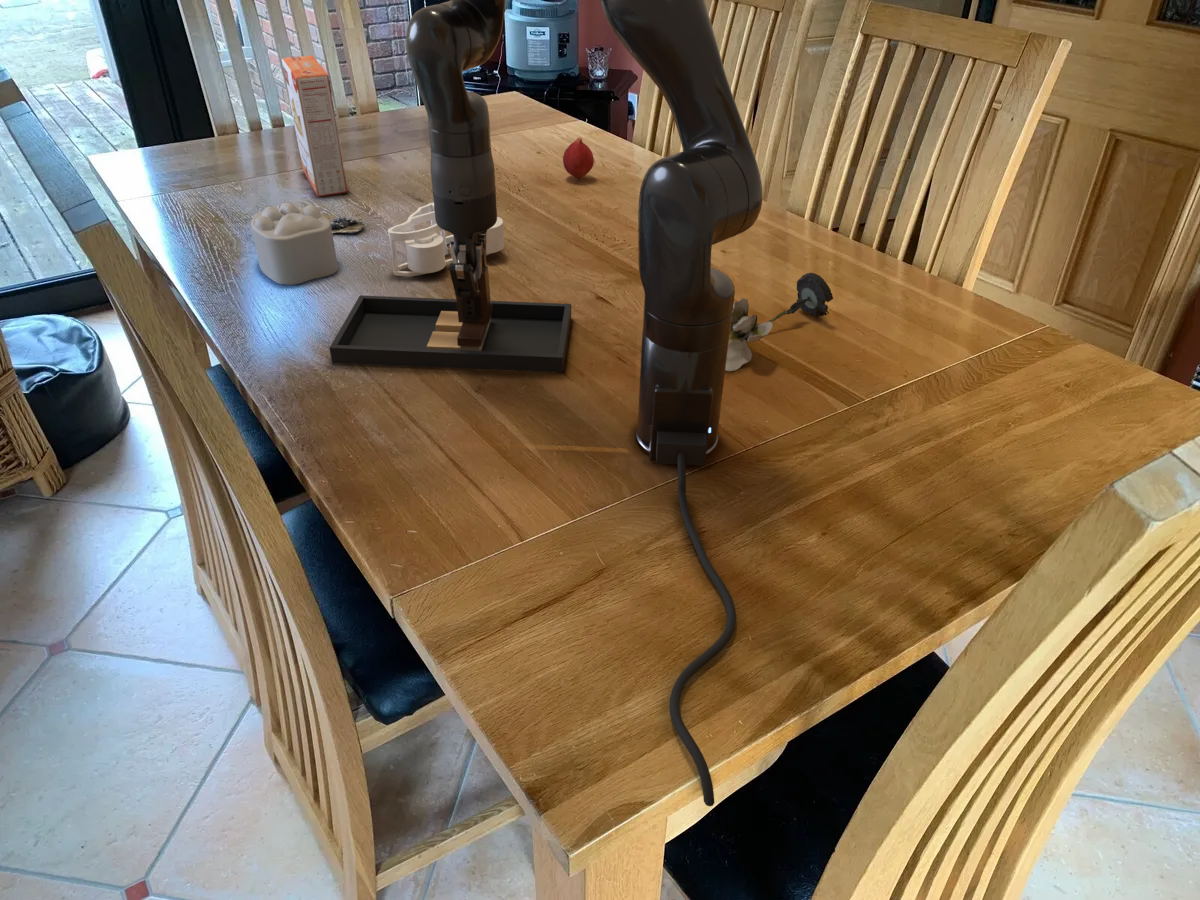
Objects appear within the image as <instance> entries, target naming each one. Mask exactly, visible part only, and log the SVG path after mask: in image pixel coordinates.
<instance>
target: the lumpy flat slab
mask: <svg viewBox="0 0 1200 900" xmlns="http://www.w3.org/2000/svg"><path fill="white" fill-rule="evenodd" d="M330 224H331V229H332V234H336V233H347V234H355V233H358V232H359V231H362V230H363V227H366V224H365V223H364V221H363V218H352V217H351V218H350V217H342V216H340V217H337V218H335V219H333V220H332V221H330Z"/></svg>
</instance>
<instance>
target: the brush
mask: <svg viewBox="0 0 1200 900" xmlns="http://www.w3.org/2000/svg"><path fill="white" fill-rule="evenodd" d="M473 270H474V271H475V270H476V269H473ZM479 289H480V293H479V300H480V314H481V317H480V320H479V321H477V322H475V321H465V320H464V319H463V312H462V301H461V297H460V298H459V297H456V296H455V299H456V301H457V311H458V320H459V322H461V323H462V326H461V329H460V331H459V334H458V337H457V342H458V346H461V350H469V351H481V350H482V347H483V344H484V341H485V338H486V334H487V331H488V328H489V325H490V322H491V315H492V314H491V313H492V310H493V303H492V301H493V300H491V290H490V276H489V266H487V265H486V266H482V276H481V277H480V279H479Z"/></svg>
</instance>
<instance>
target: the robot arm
mask: <svg viewBox="0 0 1200 900" xmlns="http://www.w3.org/2000/svg"><path fill="white" fill-rule="evenodd" d="M506 1H507V0H448V1H444V2H441V3H437V4H432V5H429V6H428V5H427V6H424V7H422V8H420V9H418V10H417V11H416V12H414V13H413V15H412V16H411V18H410V19H409V22H408V25H407V28H406V35H405V51H406V57H407V61H408V64H409V66H410V70H411V72H412V75H413V78H414V81H415V84H416V87H417V89H418V92H419V96H420V98H421V101H422V103H423V105H424V108H425V111H426V114H427V125H428V135H429V147H430V179H431V188H432V198H433V202H434V210H435V220H436V224H437V225H438V226H439V227H440V228H441V229H443V230H445V232H446V231H447V232H448V233H450V234H451V235H454V241H451V242H450V244H449V253H450V256H451V257H452V259H453V263H450V265H448V271H449V274H450V275H449V276H450V278H451V283H452V286H453V289H454V295H455V298H456V297H459V298H460V297H461V301H462V312H463V319H464V320H465V321H475V322H477V321H479V320H480V317H481V314H480V300H479V293H480V289H479V279H480V277H481V276H482V266H487V256H486V243H487V240H486V232H487V230H488V229H490V228H491V227H493V226H494V225H495V223H496V221H497V217H498V209H497V208H498V205H497V190H496V188H497V187H496V174H495V173H496V171H495V163H494V158H493V153H492V141H491V140H492V139H491V123H490V114H489V113H490V112H489V106H488V103H487V101H486V100H485V98H484V97H483V96H482V95H481V94H478V93H476V92H473V91H468V90H467V87H466V85H465V81H464V73H463V72H465V71H469V70H472V69H474V68H477V67H480V66H482V65H483V64H485V63H486V62H487V61H488V60H489V59H490V58H491V57H492V56H493V54H494V52H495V50H496V49H497V47H498V45H499V42H500V39H501V36H502V31H503V26H504V17H505V8H506ZM599 1H600V4H601V7H602V11H603V13H604V16H605V19H606V21H607V23H608V25H609V26H610V28H611V30H612V31H613V33H614V35H615V36H616V37H617V39H618V40H619V42H620V43H621V45H622V46H623V47H624V49H626V51H627V52H628V53H629V54H630V56H631V57H632V58H633V59H634V61H635V62H636V63H637V64H638V65H639V66H640V68H642V70H643V71H644V73H646V75H647V76H648V77H649V78H650V79H651V81H652V82H653V83H654V85H655V86H656V87H657V88H658V90H659V91H660V93H661V94H662V96H663V99H665V101H666V104H667V106H668V107H669V111H670V112H671V115H672V117H673V120H674V124H675V126H676V129H677V133H678V136H679V139H680V144H681V147H682V151H680V152H677V153H674V154H670V155H667V156H664V157H662V158H660V159H658V160H656V161H655V162H653V163H652V164H651V165H650V166H649V167H648V169H647V170H646V172H645V174H644V176H643V179H642V181H641V186H640V189H639V195H638V209H637V226H638V227H637V229H638V231H637V232H638V233H637V234H638V235H637V236H638V237H637V238H638V244H637V245H638V255H637V256H638V259H637V260H638V262H637V263H638V273H639V278H640V282H641V285H642V288H643V291H644V301H643V302H644V303H643V318H642V334H641V349H640V350H641V351H640V353H641V354H640V367H639V369H640V370H639V371H640V372H639V387H638V389H639V390H638V403H637V404H638V406H637V426H636V430H635V439H636V443H637V445H638V447H639V448H640V449H641V450H642V451H643V452H645V453H646V454H647V455H648V456H649V461H650V462H655V464H660V465H661V464H662V465H677V497H678V503H679V508H680V514H681V517H682V521H683V523H684V527H685V529H686V531H687V534H688V536H689V538H690V540H691V542H692V545H693V548H694V551H695V552H696V555H697V556H698V559H699V561H700V563H701V566H702V567H703V569H704V571H705V573H706V574H707V576H708V577H709V579H710V580H711V582H712V583H713V585H714V586H715V588H716V589H717V591H718V592H719V595H720V597H721V598H722V601H723V604H724V607H725V612H726V613H725V614H726V621H725V627H724V629H723V632H722V633H721V635H720V637H718V639H717V640H716V641H715V642H714V643H713V644H712V645H711V646H710V647H709V648H708V649H706V650H705V651H704V652H702V653H701V654H700V655H699V656H698V657H696V658H695V659H694V660H693V661H691V662H690V663H689V665H687V666H686V667H685V668H684V669H683V670H682V672H681V673H680V674H679V676H678V677H677V678H676V680H675V683H674V684H673V687H672V688H671V693H670V696H669V704H668V707H669V715H670V719H671V722H672V724H673V727H674V730H675V731H676V734H677V735H678V737H679V738H680V739H681V741H682V743H683V744H684V746H685V748H686V749H687V751H688V753H689V754H690V756H691V758H692V760H693V762H694V764H695V766H696V768H697V773H698V775H699V778H700V784H701V788H702V797H703V803H704V804H705V806H707V807H713V806H714V805H715V793H714V792H715V791H714V785H713V781H712V775H711V772H710V770H709V767H708V763H707V762H706V761H707V760H706V759H705V757H704V754H703V753H702V751H701V749H700V747H699V746H698V744H697V742H696V741H695V739H694V737H693V736H692V734H691V732H689V730H688V728H687V726H686V725H685V723H684V721H683V718H682V715H681V707H680V704H681V697H682V692H683V690H684V688H685V686H686V685H687V683H688V682H689V680H690V679H691V678H692V677H693V676H694V675H695V674H696V673H697V672H698V671H700V669H702V668H703V667H704V666H705V665H706V664H707V663H708V662H710V661H712V659H714V658H715V657H716V656H717V655H719V653H720V652H722V650H723V649H724V648H725V647H726V646H727V645H728V643H729V642H730V640H731V638H732V636H733V634H734V632H735V628H736V624H737V611H736V605H735V602H734V600H733V597H732V595H731V593H730V591H729V589H728V587H727V586H726V585H725V582H724V581H723V579H722V578H721V577H720V575H719V574H718V572H717V570H716V569H715V568H714V567H713V565H712V563H711V561H710V559H709V557H708V555H707V552H706V551H705V548H704V546H703V544H702V541H701V539H700V537H699V535H698V532H697V530H696V527H695V526H694V523H693V520H692V517H691V514H690V510H689V505H688V500H687V472H686V471H687V470H686V466H705V464H706V460H707V457H709V456H710V455H711V454H713V452H715V450H716V449H717V446H718V443H719V442H718V441H719V427H720V418H721V410H722V409H721V408H722V401H723V391H724V384H725V375H726V371H725V368H726V359H727V351H728V343H729V336H730V327H731V319H732V311H733V304H734V303H735V293H736V291H735V284H734V283H733V280H732V278H730V276H729V275H727V274H726V273H725V272H723V271H721V270H720V269H717V268H715V267H713V266H712V248H713V246H714V245H716V244H718V243H721V242H724V241H726V240H728V239H730V238H734V237H735V236H738V235H740V234H743V233H744V232H746V231H747V230H749V229H750V228H751V227H753V226H754V224H755V223H756V221H757V219H758V218H759V215H760V213H761V210H762V207H763V184H762V178H761V173H760V170H759V166H758V162H757V159H756V156H755V153H754V150H753V147H752V145H751V141H750V138H749V136H748V134H747V131H746V128H745V125H744V123H743V120H742V117H741V114H740V111H739V109H738V106H737V103H736V101H735V97H734V94H733V93H732V90H731V87H730V83H729V80H728V78H727V74H726V72H725V68H724V64H723V61H722V56H721V53H720V50H719V46H718V42H717V40H716V39H717V38H716V35H715V32H714V28H713V25H712V21H711V18H710V15H709V10H708V7H707V4H706V0H599ZM473 269H476V270H475V271H474V270H473Z"/></svg>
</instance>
